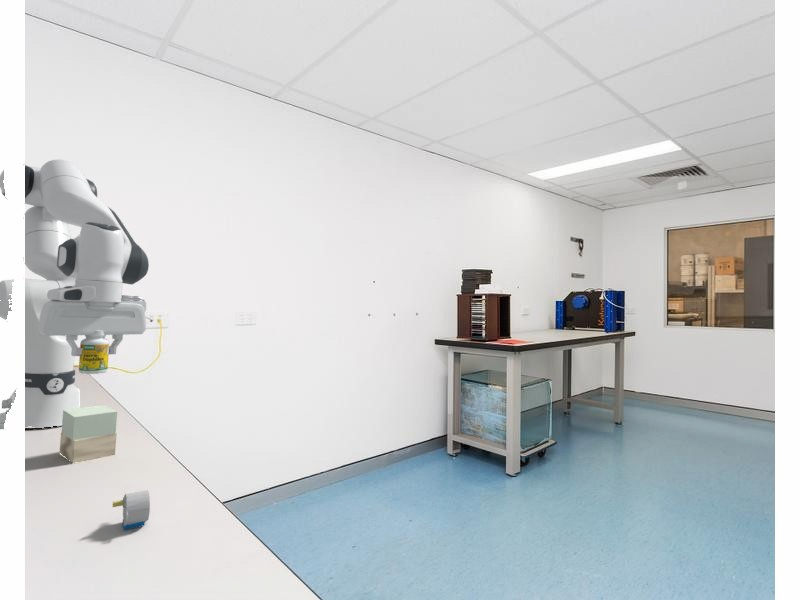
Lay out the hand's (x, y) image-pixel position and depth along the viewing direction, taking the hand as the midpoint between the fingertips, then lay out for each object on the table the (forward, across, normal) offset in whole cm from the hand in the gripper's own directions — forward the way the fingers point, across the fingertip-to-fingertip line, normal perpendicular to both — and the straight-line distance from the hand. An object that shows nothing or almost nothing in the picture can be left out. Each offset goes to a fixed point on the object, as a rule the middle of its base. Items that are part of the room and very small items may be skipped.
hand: (94, 355), depth 98 cm
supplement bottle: (+4, 0, 0) cm, 4 cm away
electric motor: (+23, +8, +39) cm, 46 cm away
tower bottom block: (+22, 0, 0) cm, 23 cm away
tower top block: (+18, 0, 0) cm, 18 cm away
